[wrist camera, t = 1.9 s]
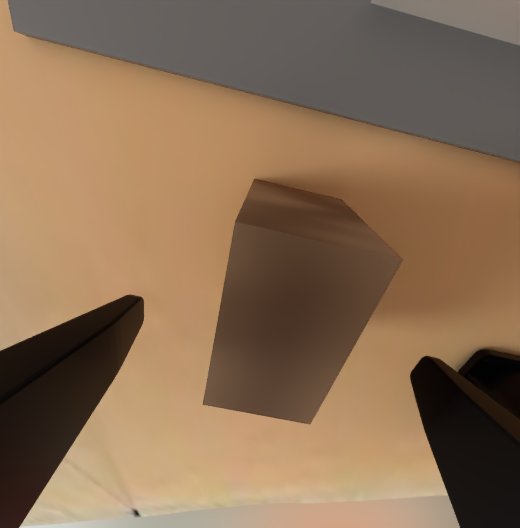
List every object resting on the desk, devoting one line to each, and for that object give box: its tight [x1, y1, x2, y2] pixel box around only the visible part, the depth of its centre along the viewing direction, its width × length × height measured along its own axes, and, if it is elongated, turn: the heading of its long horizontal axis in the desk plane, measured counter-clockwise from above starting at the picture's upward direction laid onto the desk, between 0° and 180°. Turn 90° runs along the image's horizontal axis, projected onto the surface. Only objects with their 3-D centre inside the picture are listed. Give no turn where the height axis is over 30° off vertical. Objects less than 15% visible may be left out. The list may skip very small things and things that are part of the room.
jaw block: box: [203, 179, 403, 424], centre depth 10 cm, size 4×7×6 cm, turn 167°
